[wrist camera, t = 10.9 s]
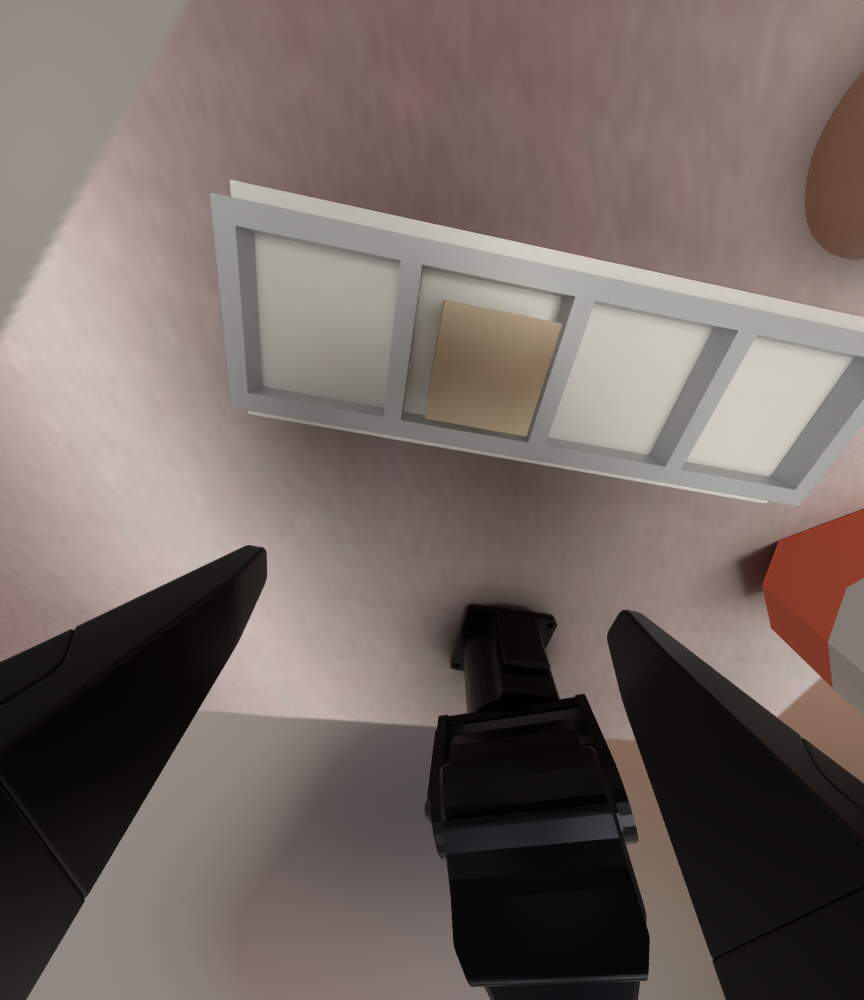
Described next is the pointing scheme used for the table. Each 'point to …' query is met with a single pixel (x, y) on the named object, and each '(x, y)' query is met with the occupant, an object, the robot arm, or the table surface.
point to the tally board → (575, 360)
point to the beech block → (489, 367)
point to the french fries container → (823, 601)
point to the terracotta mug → (839, 179)
